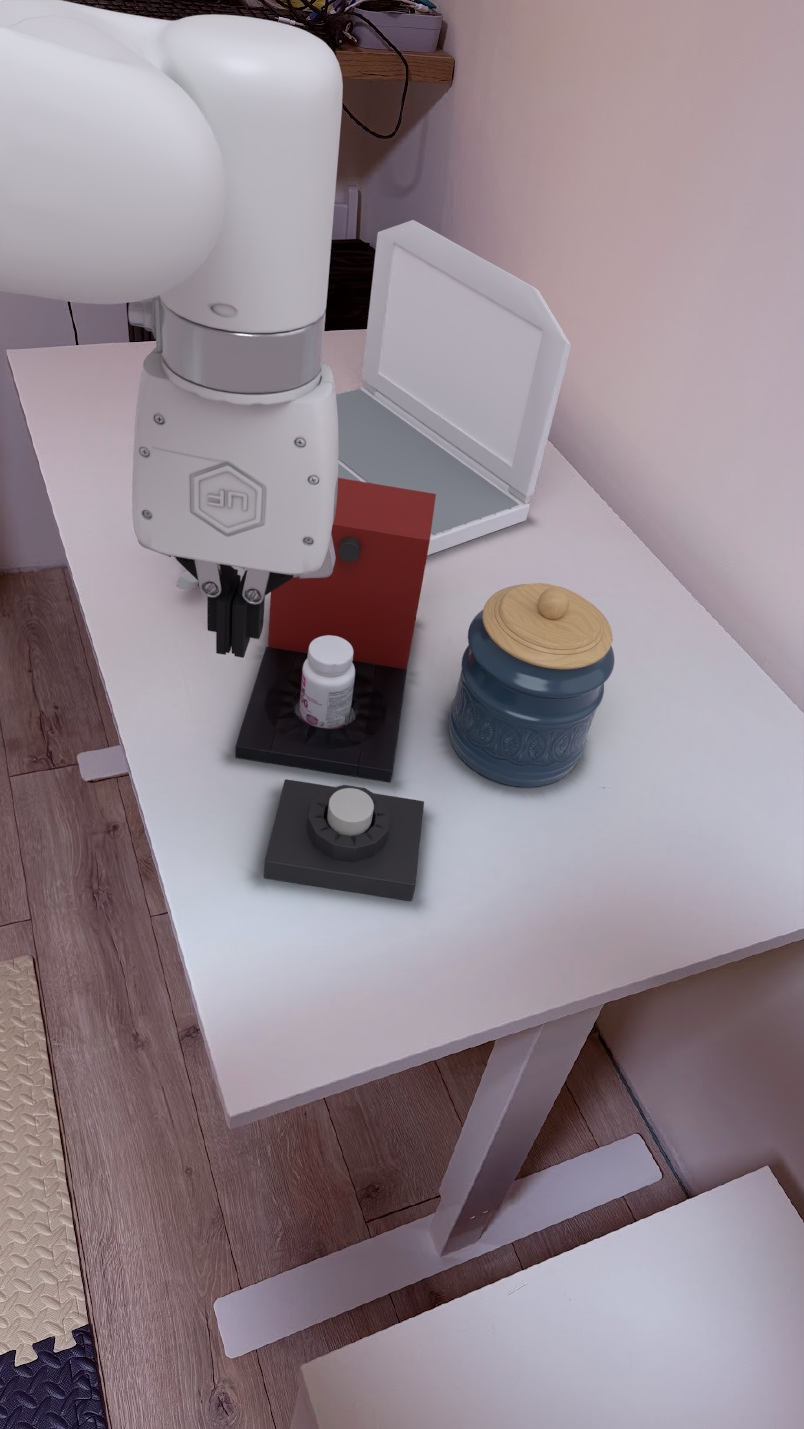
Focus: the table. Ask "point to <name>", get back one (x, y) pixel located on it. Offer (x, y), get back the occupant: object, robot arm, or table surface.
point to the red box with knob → (362, 577)
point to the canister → (530, 684)
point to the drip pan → (337, 750)
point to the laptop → (452, 384)
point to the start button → (350, 811)
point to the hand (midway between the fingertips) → (235, 640)
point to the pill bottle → (327, 683)
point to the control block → (345, 843)
